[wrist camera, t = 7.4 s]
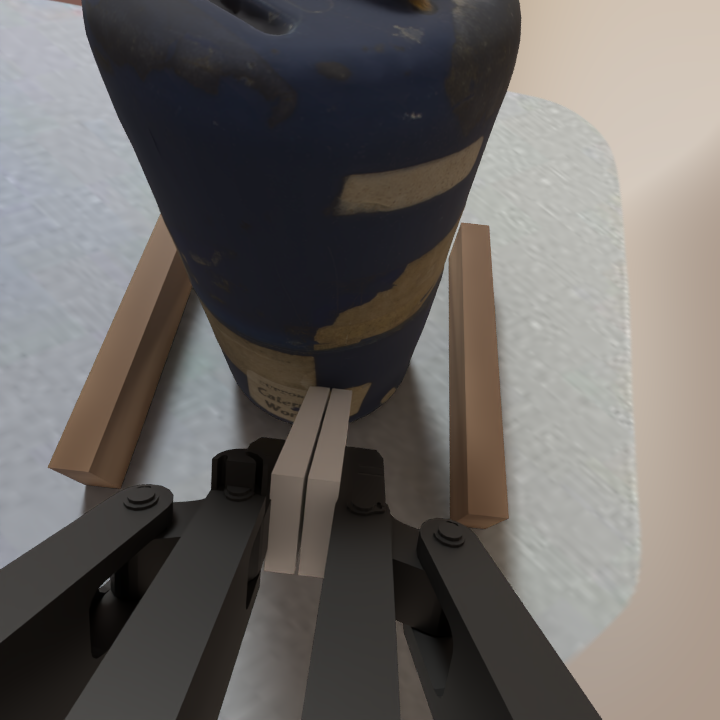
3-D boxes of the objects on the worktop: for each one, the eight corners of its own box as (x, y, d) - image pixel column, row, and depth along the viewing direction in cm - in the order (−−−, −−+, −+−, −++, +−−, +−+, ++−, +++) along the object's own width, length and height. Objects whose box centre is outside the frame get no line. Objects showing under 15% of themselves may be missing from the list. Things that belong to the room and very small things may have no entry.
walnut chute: (85, 484, 20) (47, 467, 17) (186, 228, 27) (171, 188, 25) (484, 529, 20) (508, 518, 17) (473, 261, 28) (489, 225, 25)
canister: (347, 261, 27) (374, -214, 11) (444, 378, 23) (679, -74, 8) (201, 329, 24) (-44, -188, 8) (286, 475, 20) (145, 61, 5)
